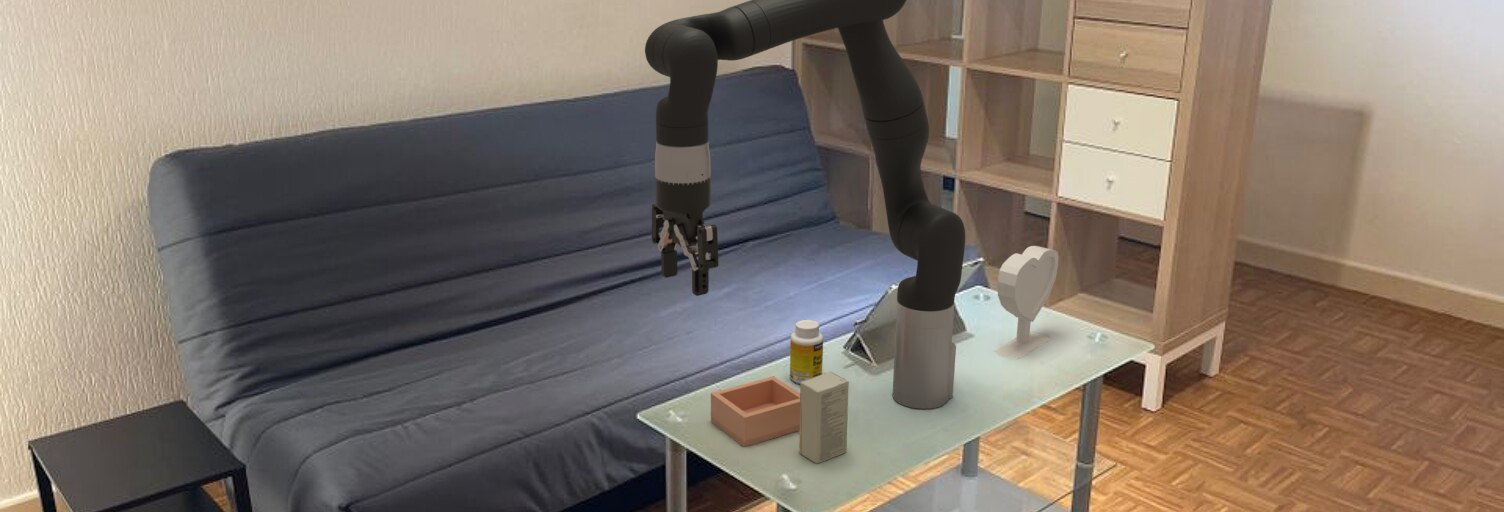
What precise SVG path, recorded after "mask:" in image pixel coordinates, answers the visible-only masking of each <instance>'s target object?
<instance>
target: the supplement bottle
mask: <svg viewBox="0 0 1504 512" xmlns="http://www.w3.org/2000/svg"><path fill="white" fill-rule="evenodd" d="M789 345H790V347H789V350H790V351H789V355H790V356H789V378H790V379H791V381H792V382H794V383H796V384H799V385H800V382H802V381H805V380H808V379H810V378H813V377H816V376H819V375H821V374H823V356H824V335H823V334H822V333H821V332H820V325H819V322H817V321H815V320H812V319H804V320H803V319H802V320H799V321H796V323H795V328H794V332H793V333H791V335H790V343H789Z"/></svg>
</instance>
